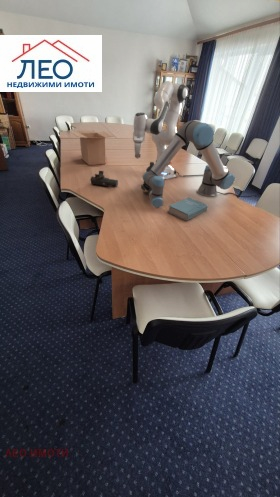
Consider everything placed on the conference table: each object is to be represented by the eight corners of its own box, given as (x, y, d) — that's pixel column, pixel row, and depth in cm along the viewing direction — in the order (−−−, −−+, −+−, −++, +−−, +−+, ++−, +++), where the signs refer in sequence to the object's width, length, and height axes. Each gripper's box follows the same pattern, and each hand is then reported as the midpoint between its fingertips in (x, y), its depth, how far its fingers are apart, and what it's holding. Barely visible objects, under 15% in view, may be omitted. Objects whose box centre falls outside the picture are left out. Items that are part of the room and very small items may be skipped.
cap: (135, 157, 171) (135, 154, 170) (134, 156, 175) (134, 153, 173) (140, 157, 172) (141, 155, 171) (139, 156, 175) (140, 153, 174)
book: (187, 203, 164) (188, 197, 161) (206, 211, 155) (207, 205, 152) (167, 212, 150) (168, 205, 147) (187, 221, 142) (188, 214, 139)
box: (116, 165, 229) (116, 136, 213) (83, 168, 214) (80, 137, 198) (102, 154, 259) (101, 128, 243) (71, 156, 244) (68, 129, 228)
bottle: (147, 190, 180) (149, 160, 166) (155, 192, 178) (159, 162, 164) (143, 193, 174) (145, 162, 161) (151, 195, 172) (154, 164, 158)
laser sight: (115, 189, 177) (115, 177, 171) (88, 185, 180) (87, 173, 174) (118, 185, 185) (118, 173, 179) (93, 181, 188) (92, 169, 182)
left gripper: (135, 135, 174) (134, 153, 182) (133, 140, 157) (132, 160, 165) (143, 136, 174) (142, 154, 182) (142, 140, 157) (140, 161, 165)
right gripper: (139, 199, 159) (136, 187, 177) (167, 199, 162) (161, 187, 180) (140, 189, 154) (136, 178, 173) (168, 189, 157) (162, 178, 175)
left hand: (137, 157), depth 173 cm, fingers closed on cap, 4 cm apart
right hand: (149, 182), depth 176 cm, fingers closed on bottle, 8 cm apart
